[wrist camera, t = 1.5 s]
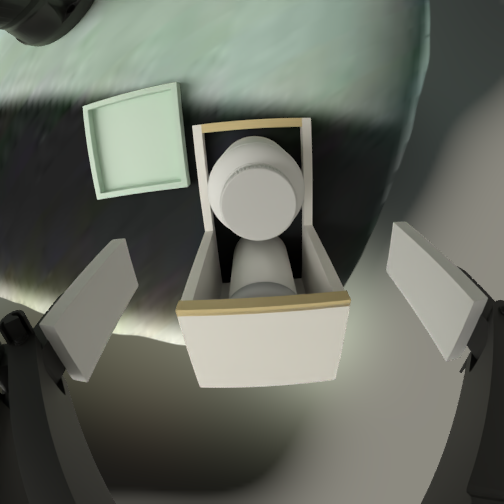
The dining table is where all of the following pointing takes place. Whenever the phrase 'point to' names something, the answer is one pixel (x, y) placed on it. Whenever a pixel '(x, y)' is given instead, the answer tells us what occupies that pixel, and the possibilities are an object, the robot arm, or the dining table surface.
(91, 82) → the dining table surface
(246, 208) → the pill bottle
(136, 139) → the tray
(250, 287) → the dispenser
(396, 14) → the dining table surface
